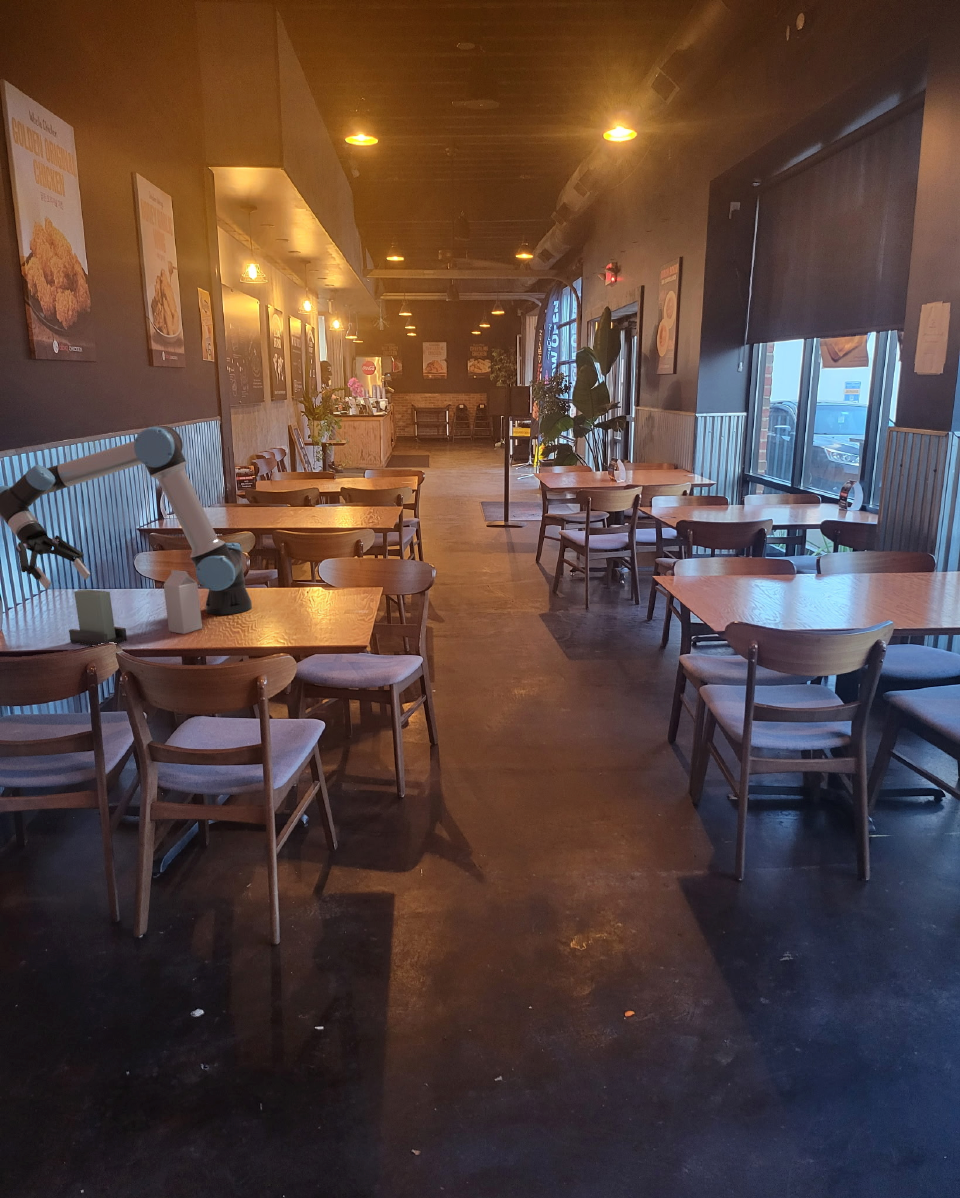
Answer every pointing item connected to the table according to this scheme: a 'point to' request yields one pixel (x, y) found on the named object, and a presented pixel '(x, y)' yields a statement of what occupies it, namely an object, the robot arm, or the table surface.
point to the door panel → (95, 612)
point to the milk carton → (182, 603)
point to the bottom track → (96, 637)
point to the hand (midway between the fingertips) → (68, 581)
